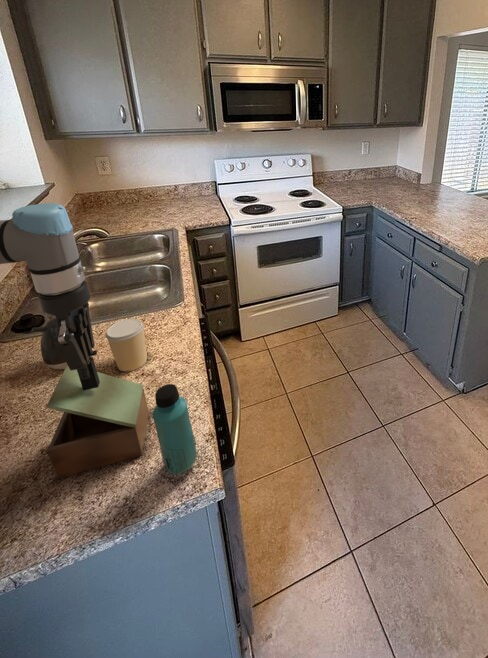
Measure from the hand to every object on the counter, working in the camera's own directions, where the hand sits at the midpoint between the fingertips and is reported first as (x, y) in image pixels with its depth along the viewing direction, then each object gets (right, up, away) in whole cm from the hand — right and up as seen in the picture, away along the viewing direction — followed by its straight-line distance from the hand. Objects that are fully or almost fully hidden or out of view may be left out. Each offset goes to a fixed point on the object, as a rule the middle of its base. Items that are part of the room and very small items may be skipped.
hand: (91, 386), depth 74 cm
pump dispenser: (-27, -7, +30) cm, 41 cm away
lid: (+1, -3, +1) cm, 3 cm away
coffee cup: (-8, -7, +30) cm, 31 cm away
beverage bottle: (+19, -17, 0) cm, 25 cm away
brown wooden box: (0, -15, +5) cm, 16 cm away
